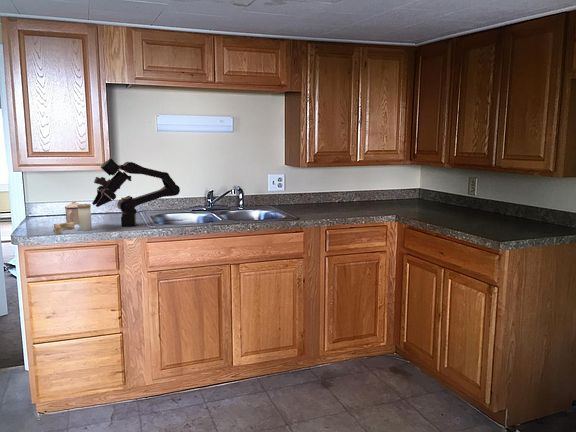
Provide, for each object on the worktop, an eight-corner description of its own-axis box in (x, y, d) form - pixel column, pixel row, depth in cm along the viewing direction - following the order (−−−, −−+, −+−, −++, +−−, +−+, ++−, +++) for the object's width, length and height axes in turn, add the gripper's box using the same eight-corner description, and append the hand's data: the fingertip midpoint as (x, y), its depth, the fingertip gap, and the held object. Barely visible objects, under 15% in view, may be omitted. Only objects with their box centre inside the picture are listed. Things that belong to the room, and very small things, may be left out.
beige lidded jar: (70, 221, 269) (68, 200, 267) (87, 221, 269) (85, 199, 267) (60, 225, 257) (59, 203, 255) (78, 225, 257) (77, 202, 256)
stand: (74, 228, 249) (73, 222, 249) (77, 232, 239) (77, 226, 239) (54, 230, 245) (53, 224, 244) (56, 234, 235) (56, 227, 234)
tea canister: (93, 228, 250) (92, 203, 248) (90, 230, 244) (88, 205, 242) (81, 228, 249) (79, 204, 247) (77, 230, 243) (75, 205, 241)
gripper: (100, 169, 255) (78, 192, 251) (107, 172, 239) (84, 196, 235) (117, 184, 260) (96, 207, 256) (125, 187, 244) (103, 212, 240)
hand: (94, 205), depth 247 cm, fingers open, 9 cm apart
